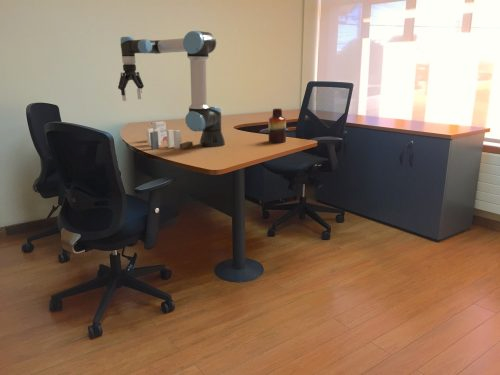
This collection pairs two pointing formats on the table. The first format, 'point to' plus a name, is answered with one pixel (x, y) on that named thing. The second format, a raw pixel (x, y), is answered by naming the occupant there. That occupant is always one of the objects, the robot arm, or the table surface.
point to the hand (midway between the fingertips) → (132, 100)
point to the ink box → (162, 129)
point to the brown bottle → (277, 127)
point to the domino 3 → (154, 140)
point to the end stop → (186, 145)
